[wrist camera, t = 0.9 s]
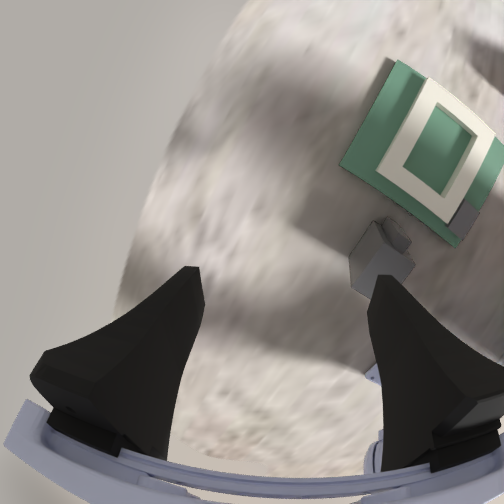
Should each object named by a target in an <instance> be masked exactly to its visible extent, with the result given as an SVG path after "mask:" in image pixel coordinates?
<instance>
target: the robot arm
mask: <svg viewBox="0 0 504 504" xmlns="http://www.w3.org/2000/svg"><path fill="white" fill-rule="evenodd" d="M204 307H205V301H204V295H203V289H202V283H201V277H200V270H199V267H192V266H184V267H183V268H182V269H181V270H179V271H178V272H177V273H176V274H175V275H174V276H172V277H171V278H170V279H169V280H168V281H167V282H166V283H164V284H163V285H162V286H161V287H160V288H158V289H157V290H156V291H155V292H154V293H153V294H151V295H150V296H149V297H147V298H146V299H145V300H144V301H142V302H141V303H140V304H138V305H137V306H136V307H135V308H133V309H132V310H130V311H129V312H127V313H126V314H125V315H123V316H121V317H120V318H118V319H117V320H115V321H113V322H112V323H110V324H108V325H106V326H105V327H103V328H101V329H99V330H97V331H95V332H93V333H91V334H89V335H87V336H85V337H83V338H80V339H78V340H76V341H73V342H71V343H68V344H65V345H62V346H59V347H56V348H53V349H50V350H47V351H45V352H44V353H43V355H42V356H41V358H40V360H39V361H38V363H37V364H36V366H35V368H34V369H33V371H32V372H31V374H30V380H31V382H32V384H33V386H34V387H35V388H36V389H37V390H38V391H39V393H40V394H41V395H42V396H43V397H44V398H45V399H46V400H47V401H48V402H49V403H50V404H51V405H52V406H53V407H54V408H53V410H52V412H51V413H50V412H49V411H47V410H46V409H44V408H43V407H41V406H39V405H37V404H35V403H33V402H32V401H30V400H28V399H26V400H25V402H24V404H23V406H22V408H21V410H20V411H19V413H18V415H17V417H16V419H15V421H14V423H13V425H12V427H11V429H10V431H9V433H8V435H7V437H6V439H5V442H4V446H5V447H6V448H7V449H8V450H10V451H11V452H12V453H13V454H15V455H16V456H17V457H19V458H20V459H21V460H23V461H24V462H25V463H27V464H28V465H29V466H31V467H32V468H34V469H35V470H36V471H38V472H39V473H41V474H42V475H44V476H45V477H47V478H48V479H50V480H51V481H53V482H54V483H56V484H57V485H59V486H61V487H63V488H64V489H66V490H67V491H69V492H71V493H72V494H74V495H76V496H78V497H79V498H81V499H83V500H85V501H87V502H89V503H90V504H229V503H221V502H214V501H207V500H201V499H200V498H199V497H197V496H195V495H192V494H190V493H188V492H187V490H186V489H185V488H182V487H179V486H176V485H173V484H170V483H174V484H179V485H182V486H187V487H191V488H196V489H201V490H207V491H212V492H218V493H225V494H232V495H241V496H250V497H262V498H279V499H280V498H281V499H317V498H318V499H319V498H336V497H349V496H357V495H366V494H371V495H368V496H364V497H362V498H361V500H359V501H357V502H354V503H351V504H486V503H488V502H490V501H491V500H493V499H495V498H497V497H499V496H500V495H502V494H504V433H502V434H500V435H499V434H498V430H497V429H499V428H500V427H501V423H500V418H501V417H502V416H503V415H504V367H503V366H501V365H499V364H497V363H495V362H493V361H492V360H490V359H488V358H486V357H485V356H483V355H481V354H480V353H478V352H477V351H475V350H474V349H472V348H471V347H469V346H468V345H467V344H465V343H464V342H462V341H461V340H460V339H458V338H457V337H456V336H455V335H453V334H452V333H451V332H450V331H449V330H447V329H446V328H445V327H444V326H443V325H441V324H440V323H439V322H438V321H437V320H436V319H435V318H434V317H433V316H432V315H431V314H430V313H429V312H428V311H427V310H426V309H425V308H424V307H423V306H422V305H421V304H420V303H419V302H418V301H417V300H416V299H415V298H414V297H413V296H412V295H411V294H410V293H409V292H408V291H407V290H406V289H405V288H404V287H403V286H402V285H401V284H400V282H399V281H398V280H397V279H395V278H394V277H393V276H392V275H378V276H377V280H376V284H375V287H374V291H373V294H372V298H371V301H370V304H369V308H368V311H367V315H368V324H369V332H370V337H371V341H372V345H373V349H374V353H375V358H376V362H377V363H376V364H375V365H374V366H373V367H372V368H371V369H370V370H368V371H367V372H366V374H365V378H366V379H368V380H370V381H372V382H374V383H376V384H378V385H380V386H381V387H382V399H383V424H384V426H383V429H382V430H379V441H377V442H373V443H372V444H371V445H370V446H369V448H368V451H367V452H366V455H365V458H364V475H355V476H343V477H327V478H279V477H262V476H250V475H240V474H232V473H225V472H218V471H212V470H206V469H201V468H196V467H190V466H186V465H181V464H177V463H172V462H169V461H167V455H168V446H169V438H170V431H171V425H172V419H173V413H174V408H175V404H176V399H177V394H178V390H179V386H180V381H181V377H182V374H183V371H184V368H185V365H186V362H187V360H188V357H189V354H190V352H191V349H192V347H193V344H194V341H195V339H196V336H197V333H198V331H199V328H200V325H201V321H202V317H203V312H204ZM158 479H159V480H158ZM161 480H163V481H161ZM164 481H166V482H164ZM167 482H170V483H167Z"/></svg>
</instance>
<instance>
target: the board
mask: <svg viewBox="0 0 504 504" xmlns="http://www.w3.org/2000/svg"><path fill="white" fill-rule="evenodd" d="M495 135H496V133H495V132H494V131H493V130H492V129H491V128H490V127H489V126H488V125H486V124H485V123H484V122H483V121H482V120H481V119H480V118H479V117H478V116H477V115H476V114H475V113H474V112H472V111H471V110H470V109H469V108H468V107H467V106H466V105H464V104H463V103H462V102H461V101H460V100H458V99H457V98H456V97H455V96H453V95H452V94H451V93H450V92H448V91H447V90H446V89H445V88H443V87H442V86H441V85H439V84H438V83H437V82H435V81H434V80H432V79H431V78H430V77H428V78H425V77H424V76H422V75H421V74H419V73H418V72H416V71H415V70H413V69H412V68H410V67H409V66H407V65H406V64H404V63H403V62H401V61H399V60H397V61H396V63H395V65H394V66H393V68H392V70H391V72H390V74H389V76H388V78H387V80H386V82H385V83H384V85H383V87H382V89H381V91H380V93H379V94H378V96H377V98H376V100H375V102H374V104H373V105H372V107H371V109H370V111H369V113H368V115H367V116H366V118H365V120H364V122H363V124H362V125H361V127H360V129H359V131H358V132H357V134H356V136H355V138H354V140H353V141H352V143H351V145H350V147H349V148H348V150H347V152H346V154H345V155H344V157H343V159H342V161H341V162H340V164H339V165H340V166H341V167H343V168H344V169H346V170H348V171H349V172H351V173H353V174H354V175H356V176H357V177H359V178H360V179H362V180H363V181H365V182H367V183H368V184H370V185H371V186H373V187H374V188H376V189H377V190H379V191H380V192H382V193H383V194H384V195H386V196H387V197H389V198H390V199H392V200H393V201H395V202H396V203H397V204H399V205H400V206H402V207H403V208H404V209H406V210H407V211H408V212H410V213H411V214H412V215H414V216H415V217H416V218H418V219H419V220H420V221H422V222H423V223H424V224H426V225H427V226H428V227H429V228H431V229H432V230H433V231H435V232H436V233H437V234H438V235H440V236H441V237H442V238H443V239H444V240H446V241H447V242H448V243H449V244H450V245H452V246H453V247H454V248H456V247H457V245H458V244H459V242H460V241H461V240H462V241H463V239H464V238H465V236H466V235H467V233H468V231H469V230H470V228H471V227H472V225H473V223H474V222H475V220H476V218H477V217H478V215H479V210H480V208H481V207H482V205H483V203H484V201H485V200H486V198H487V196H488V194H489V192H490V190H491V189H492V187H493V185H494V183H495V181H496V179H497V177H498V175H499V173H500V171H501V169H502V167H503V164H504V145H503V144H502V143H501V142H500V141H499V140H498V139H497V138H496V137H495Z"/></svg>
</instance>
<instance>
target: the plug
mask: <svg viewBox="0 0 504 504" xmlns="http://www.w3.org/2000/svg"><path fill="white" fill-rule="evenodd" d="M410 244H411V241H410V239H409V238H408V237H407V235H406V234H405V233H404V231H403V230H402V229H401V227H400V226H399V225H398V224H397V223H396V222H394V221H393V220H391V219H390V218H389V217H387V218H386V220H385V221H384V223H383V224H382V226H380V225H379V224H378V223H376V222H375V221H372V223H371V225H370V226H369V228H368V229H367V231H366V232H365V234H364V235H363V237H362V238H361V240H360V241H359V243H358V244H357V246H356V247H355V248H354V250H353V251H352V253H351V254H350V256H349V266H350V279H351V288H353V289H354V290H356V291H358V292H359V293H361V294H363V295H364V296H366V297H367V298H369V299H371V298H372V294H373V291H374V287H375V284H376V280H377V276H378V275H392V276H393V277H394V278H395V279H397V280H398V281H399V282H400V284H402V283H403V281H404V280H405V279H406V277H407V276H408V275H409V273H410V272H411V271H412V269H413V268H414V267H415V265H416V264H415V263H414V261H413V259H412V258H411V256H410V255H409V253H408V251H407V250H406V249H407V248H408V246H409V245H410Z"/></svg>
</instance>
